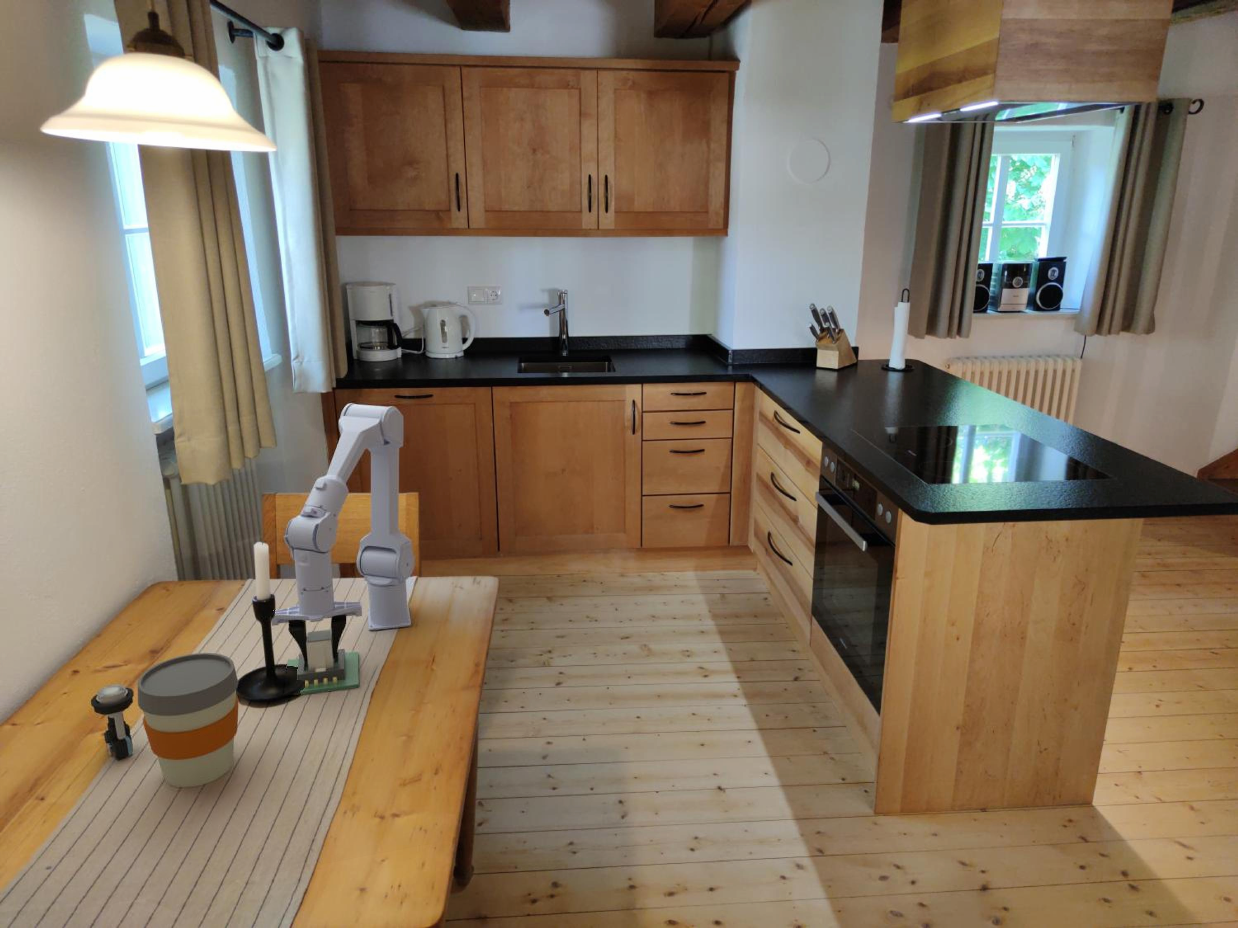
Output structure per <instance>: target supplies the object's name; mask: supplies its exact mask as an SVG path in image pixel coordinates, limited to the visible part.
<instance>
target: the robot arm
mask: <svg viewBox="0 0 1238 928" xmlns="http://www.w3.org/2000/svg"><path fill="white" fill-rule="evenodd" d="M338 430H339V433H340V437H339V440H338V443H337V445H336V449H335V450H334V454H333V456H332V459H331V461H330V464H329V467H328V470H327V471H326V475H324V476H320V477H318V478H317V479H316V481H315V482H314V485H313V487H312V489H311V490H310V493H309V494H308V497H307V499H306V501H305V504H304V506H303V507H302V509H301V511H300V514H298V515H297V516H295V517H293V518H291V519H290V520H289V521H288V523H287V525H286V529H285V535H284V536H283V539H284V542H285V545H286V547H287V548H288V549H289V553H290V558H291V559H292V560H294V569H295V580H296V589H297V591H296V592H297V600H298V601H297V602H298V604H297V605H294V606H290V607H285V608H280V609H276V610H275V609H274V610H275V617H274V618H273V619H272V621H271V620H270V621H271V622H270V623H271V626H279V625H280V624H286V623H288V632H289V634H290V635H291V636H292V638H293V639H294V641H295V642H296V643H297V645H298V648H299V650H300V651H301V654H303V658H304V662H307V661H308V658H307V646H306V641H307V621H309V623H318V622H322V621H323V620H324V619H330V630H331V631H332V641H333V651H332V653H333V658H337V650H338V649H339V645H340V640H341V639H342V636H343V633H344V630H345V628H346V625H347V617H350V616H355V617H362V616H363V607H362V606H363V605H362V601H335V594H334V584H333V583H334V582H333V570H332V558H331V549H332V548H333V547H334V544H335V543H336V540H337V536H338V530H337V529H338V526H339V520H338V517H339V515H340V513H341V511H342V508H343V506H344V504H345V502H346V500H347V498H348V495H349V488H348V485H347V482H348V480H349V479H350V476H351V475H352V473H353V471H354V469H355V467H356V466H357V464H358V462H359V461H360V459H361V457H362V456H363V454H364V452H365V450H368V451H369V452H370V532H369V533H368V534H366V535H365V536H363V537H362V538H361V539H360V541H359V548H358V549H359V550H358V553H357V556H356V567H357V570H358V573H359V575H361V576H363V579H364V580H363V581H364V582H365V581H366V582H367V587H368V591H367V592H368V602H369V608H368V609H367V613H368V614H367V619H368V620H367V621H368V623H367V624H368V631H379V630H386V629H387V630H389V629H395V628H403V627H405V628H406V627H411V626H412V621H411V613H410V607H409V605H408V594H407V591H408V590H407V580H408V579H409V578H410V576H411V575H412V573H413V571H414V568H415V563H416V561H415V560H416V559H415V555H414V552H413V545H412V544H413V542H412V540H411V539H410V538H409V537H408V536H406V535H405V534H404V533H403V532H401V530H400V529H399V526H400V525H399V524H400V523H399V518H400V517H399V515H400V514H399V508H400V507H399V506H400V505H399V504H400V500H399V499H400V491H399V490H400V484H399V483H400V448H402V447H403V446H404V415H403V414H402V412H401V411H400V410H399V409H398V408H397V407H396V406H393V405H390V406H384V405H372V404H371V405H369V404H356V403H353V402H351V403H347V404H346V405H345V406H344V408H343V409H342V411H341V413H340V417H339V419H338Z"/></svg>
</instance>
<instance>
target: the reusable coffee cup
mask: <svg viewBox="0 0 1238 928" xmlns="http://www.w3.org/2000/svg"><path fill="white" fill-rule="evenodd" d="M238 686H239V679H238V675H237V672H236V667H235V663H234V660H232V659H231V658H230V657H228V656H227V655H223V654H220V653H216V652H215V653H213V652H201V653H200V652H199V653H189V654H185V655H179V656H176V657H173V658H169V659H167V660H163V661H160V662H159V663H157V664H154V665H153V666H151V667H150V668H148V669H147V670H146V671H144V672H143V673H142V674H141V675H140V677H139V678H138V680H137V706H138V707H139V709H140V710H142V712H143V713H142V714H143V718H142V724H143V728H144V731H145V734H146V736H147V739H148V742H149V747H150V749H151V752H152V754H154V755H156V757H157V760H158V763H159V767H160V770H161V772H162V774H163V778H164V780H165V782H166V783H167V784H168V785H170V786H173V787H177V788H193V787H198V786H203V785H206V784H208V783H211V782H213V781H216V780H218V779H220V778H221V777H222V776H224V775H225V774H226V773H228V772H229V771H230V769H231V768H232V766H233V763H234V753H235V752H234V749H235V747H234V745H235V736H236V734H237V733H238V725H239V722H238V721H239V698H238V696H237V695H236V690H237V688H238Z"/></svg>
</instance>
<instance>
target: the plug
mask: <svg viewBox="0 0 1238 928" xmlns="http://www.w3.org/2000/svg"><path fill="white" fill-rule="evenodd" d="M306 634H307V641H306V646H307V658H308V669H309V671H310V670H316V669H317V668H325V667H326V668H334V658H333V653H332V651H333V641H332V631H331V629H325V630H316V631H308V632H306Z"/></svg>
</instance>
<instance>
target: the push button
mask: <svg viewBox="0 0 1238 928" xmlns="http://www.w3.org/2000/svg"><path fill="white" fill-rule="evenodd" d="M134 694H135V693H134V690H133V689H132V688H131V687H126V685H124V684H119V683H117V684H111V685H107V686H104V687H102V688H100V689H99V690H98V691H97V693H96V694H95V695H94V696H92V698H91V700H90V704H91V707H93V710H94V713H97V714H99V715H102V716H107V724H106V725H107V729H106V730H105V732H104V733H103V735H104V741H105V744H106V746H107V747H106V748H107V749H106V750H107V753H108V754H109V756H112V752H113V754H114V758H115V760H116V761H119V760H122V759H125V758H127V757H129V756H132V755H133V754H134V753H133V749H132V748H133V746H134V745H133V739H132V735H131V727H130V725H129V724H127V723H126V721H125V717H124V712H125V710H127V709H129V708H130V706H131V705H132V704H133V703H134V700H133V697H134V696H135V695H134Z"/></svg>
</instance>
